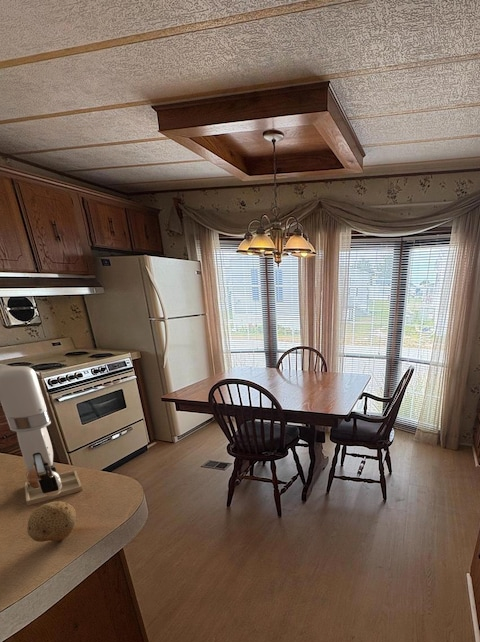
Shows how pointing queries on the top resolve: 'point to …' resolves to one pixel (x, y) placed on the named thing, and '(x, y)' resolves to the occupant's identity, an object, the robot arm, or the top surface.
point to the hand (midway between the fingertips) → (51, 486)
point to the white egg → (57, 483)
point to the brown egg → (32, 478)
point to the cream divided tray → (68, 486)
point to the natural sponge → (51, 522)
